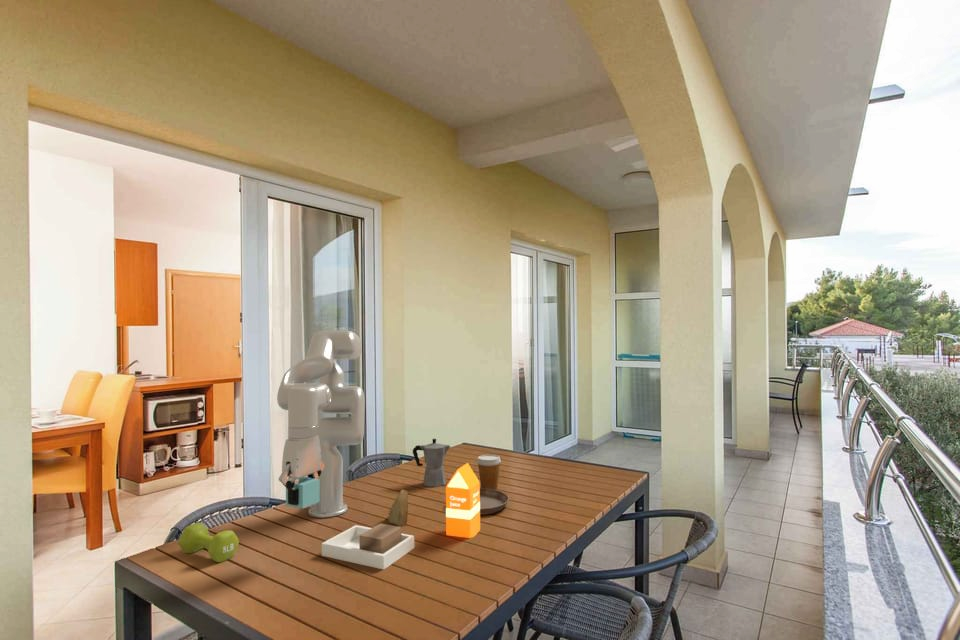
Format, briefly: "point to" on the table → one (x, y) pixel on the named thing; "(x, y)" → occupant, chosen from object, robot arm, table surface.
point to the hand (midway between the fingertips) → (302, 499)
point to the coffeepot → (433, 463)
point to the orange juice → (463, 503)
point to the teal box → (306, 492)
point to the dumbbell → (209, 542)
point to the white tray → (349, 550)
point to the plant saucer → (492, 501)
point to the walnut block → (380, 538)
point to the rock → (399, 509)
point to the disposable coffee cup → (489, 471)
